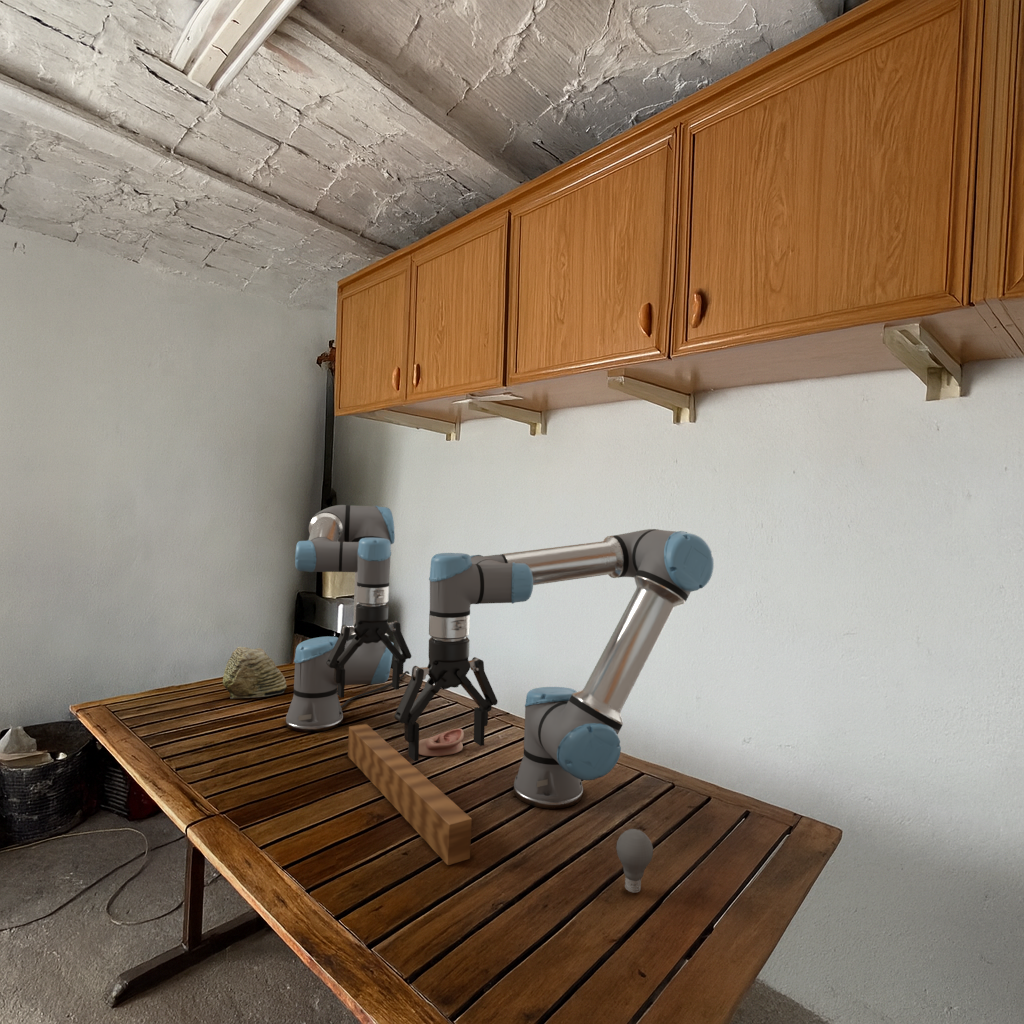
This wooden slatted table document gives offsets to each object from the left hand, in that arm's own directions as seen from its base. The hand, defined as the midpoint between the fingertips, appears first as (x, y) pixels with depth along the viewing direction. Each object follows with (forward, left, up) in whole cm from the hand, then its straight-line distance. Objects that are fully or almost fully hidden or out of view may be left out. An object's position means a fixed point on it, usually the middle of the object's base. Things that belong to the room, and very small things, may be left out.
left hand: (368, 692), depth 151 cm
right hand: (+12, +38, 0) cm, 40 cm away
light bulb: (+1, +71, -17) cm, 73 cm away
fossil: (-8, -65, -17) cm, 68 cm away
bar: (+6, +19, -17) cm, 27 cm away
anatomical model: (-18, +5, -17) cm, 26 cm away
